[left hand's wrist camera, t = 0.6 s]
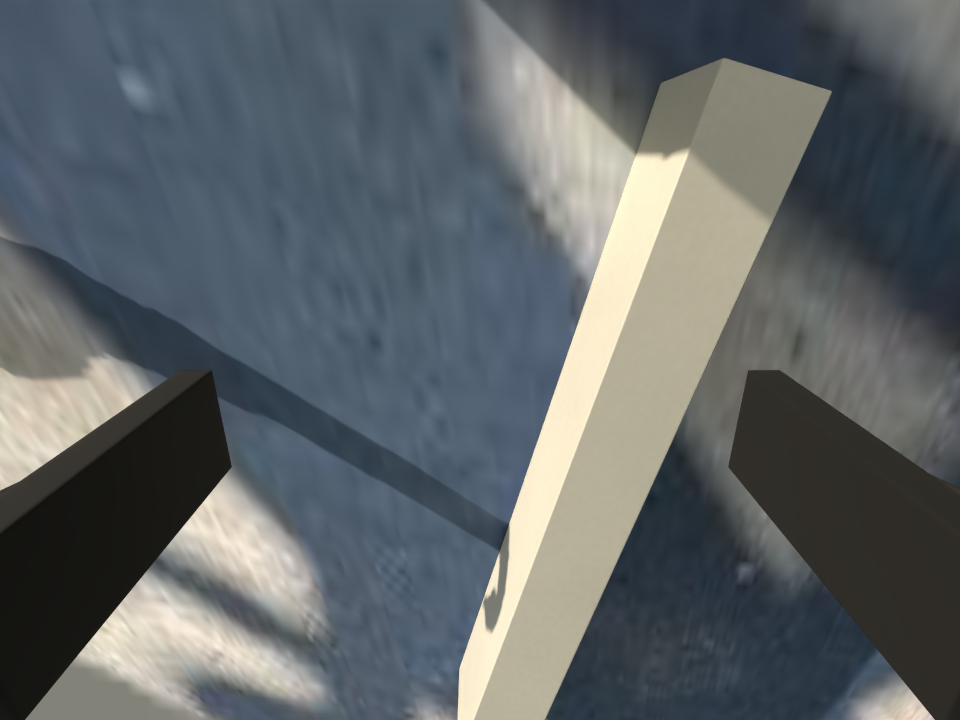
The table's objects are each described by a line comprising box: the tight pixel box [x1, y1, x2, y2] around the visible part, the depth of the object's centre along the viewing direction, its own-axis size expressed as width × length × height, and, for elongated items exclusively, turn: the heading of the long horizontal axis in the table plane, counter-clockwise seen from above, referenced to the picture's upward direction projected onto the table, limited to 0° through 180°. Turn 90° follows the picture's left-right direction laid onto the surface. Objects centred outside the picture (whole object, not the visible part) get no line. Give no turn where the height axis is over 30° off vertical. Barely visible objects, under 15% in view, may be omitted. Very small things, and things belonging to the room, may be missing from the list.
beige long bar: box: [458, 58, 832, 720], centre depth 37 cm, size 52×6×8 cm, turn 166°
